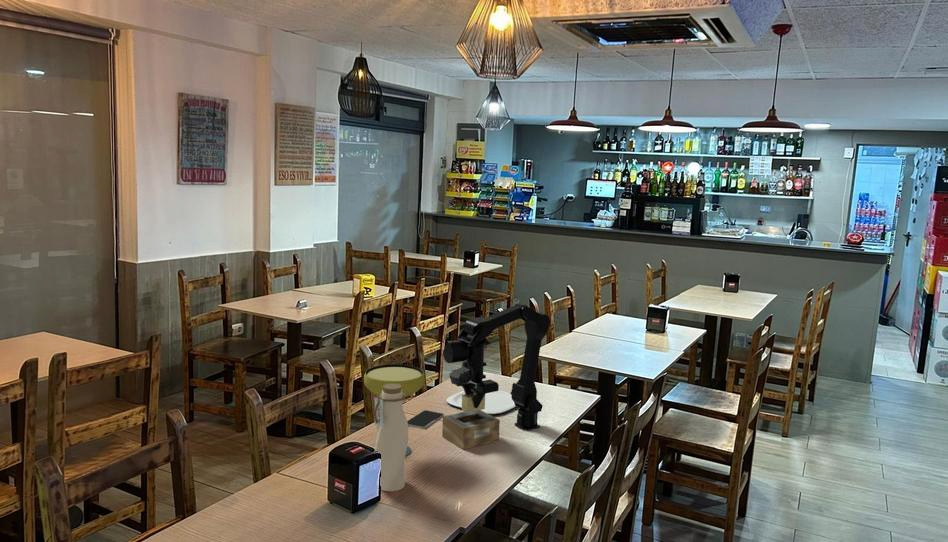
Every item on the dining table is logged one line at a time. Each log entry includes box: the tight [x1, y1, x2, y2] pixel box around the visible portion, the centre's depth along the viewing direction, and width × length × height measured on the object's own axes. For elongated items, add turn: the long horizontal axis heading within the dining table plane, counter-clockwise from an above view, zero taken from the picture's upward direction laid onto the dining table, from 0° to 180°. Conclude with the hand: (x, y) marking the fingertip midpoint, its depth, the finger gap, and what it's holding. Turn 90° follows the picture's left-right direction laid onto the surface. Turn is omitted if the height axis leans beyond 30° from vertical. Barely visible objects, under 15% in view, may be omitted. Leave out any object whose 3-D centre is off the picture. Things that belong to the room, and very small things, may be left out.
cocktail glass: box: [363, 363, 425, 457], centre depth 205 cm, size 18×18×25 cm
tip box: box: [441, 410, 501, 450], centre depth 218 cm, size 14×12×7 cm
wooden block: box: [461, 393, 485, 413], centre depth 216 cm, size 7×3×5 cm, turn 126°
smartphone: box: [407, 409, 445, 430], centre depth 234 cm, size 8×1×15 cm
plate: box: [445, 390, 517, 415], centre depth 254 cm, size 25×25×2 cm
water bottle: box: [373, 384, 409, 492], centre depth 182 cm, size 10×9×28 cm
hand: (473, 406), depth 216 cm, fingers closed on wooden block, 3 cm apart
